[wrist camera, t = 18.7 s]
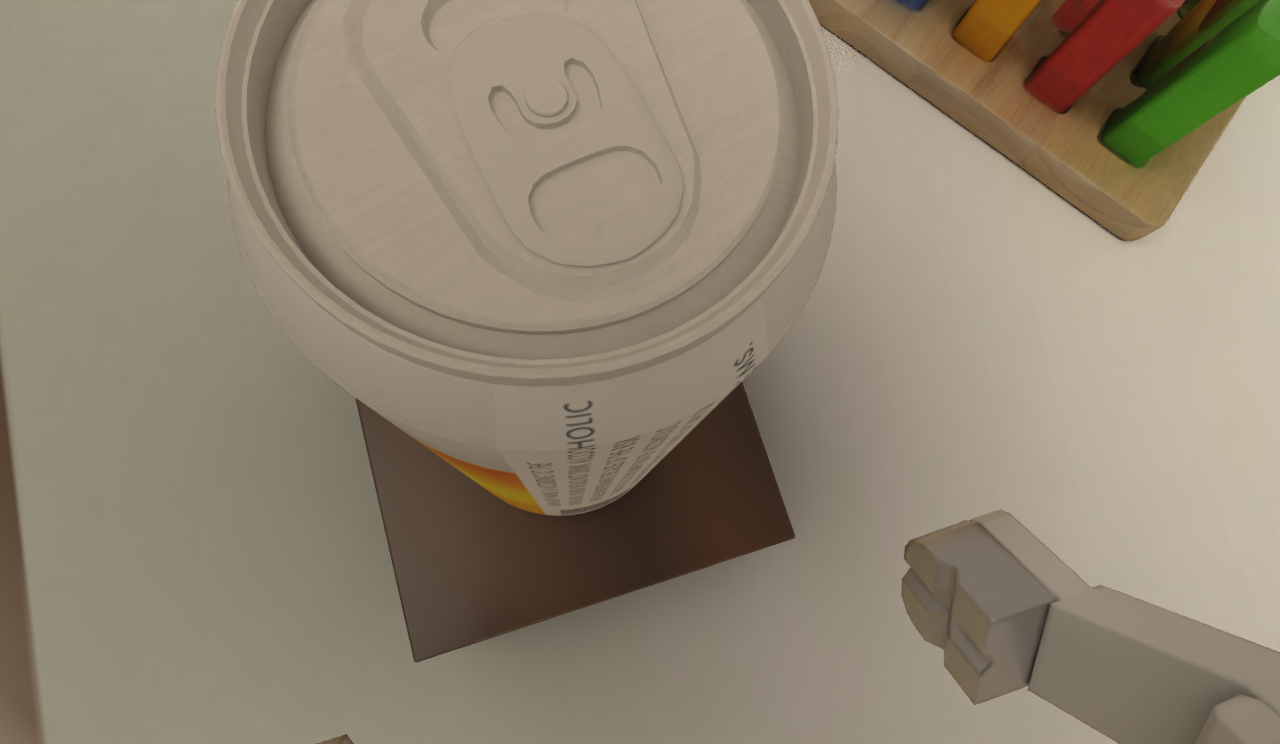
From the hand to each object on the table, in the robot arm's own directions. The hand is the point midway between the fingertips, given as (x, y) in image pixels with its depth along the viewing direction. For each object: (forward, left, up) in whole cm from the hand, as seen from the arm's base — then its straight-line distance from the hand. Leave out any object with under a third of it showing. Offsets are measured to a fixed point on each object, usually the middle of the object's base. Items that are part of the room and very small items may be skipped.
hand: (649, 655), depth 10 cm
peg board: (+27, +19, -15) cm, 36 cm away
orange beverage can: (0, +6, -10) cm, 11 cm away
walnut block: (0, +6, -15) cm, 16 cm away
